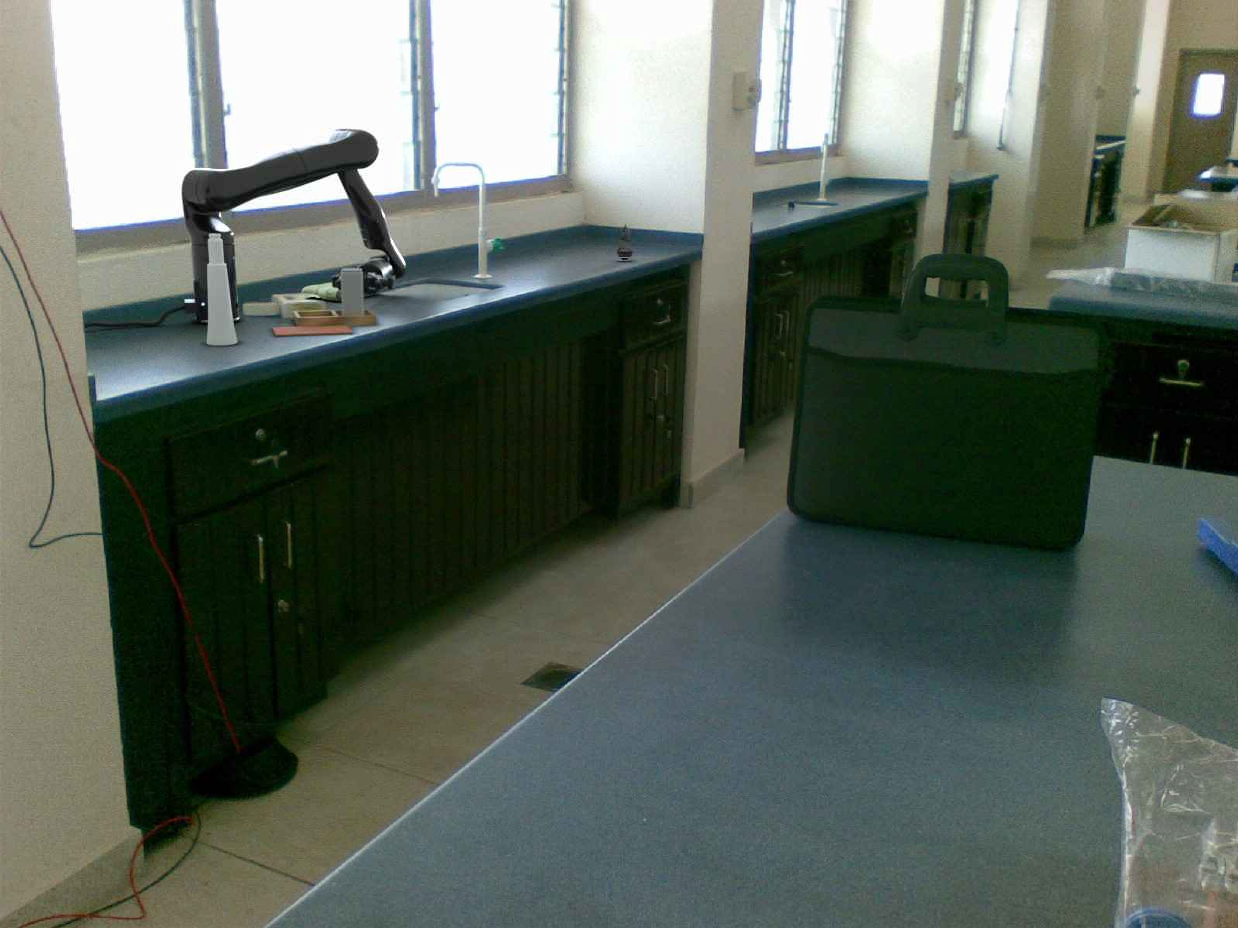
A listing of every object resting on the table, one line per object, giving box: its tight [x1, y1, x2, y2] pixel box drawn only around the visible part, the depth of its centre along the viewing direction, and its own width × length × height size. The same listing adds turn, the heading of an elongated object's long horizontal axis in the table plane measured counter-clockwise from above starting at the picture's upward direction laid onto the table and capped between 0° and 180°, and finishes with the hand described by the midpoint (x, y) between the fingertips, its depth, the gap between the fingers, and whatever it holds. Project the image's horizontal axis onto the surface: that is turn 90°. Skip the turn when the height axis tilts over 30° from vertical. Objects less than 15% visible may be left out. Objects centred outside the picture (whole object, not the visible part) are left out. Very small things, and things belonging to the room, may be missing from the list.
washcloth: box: [300, 281, 380, 302], centre depth 308 cm, size 13×18×3 cm
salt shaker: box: [615, 223, 635, 260], centre depth 395 cm, size 6×6×12 cm
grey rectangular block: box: [340, 267, 365, 316], centre depth 271 cm, size 5×5×12 cm
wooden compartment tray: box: [293, 308, 378, 327], centre depth 271 cm, size 17×9×2 cm, turn 110°
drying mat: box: [272, 325, 354, 338], centre depth 260 cm, size 16×9×1 cm, turn 110°
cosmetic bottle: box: [206, 234, 238, 347], centre depth 242 cm, size 6×6×22 cm
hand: (357, 285), depth 276 cm, fingers open, 8 cm apart
